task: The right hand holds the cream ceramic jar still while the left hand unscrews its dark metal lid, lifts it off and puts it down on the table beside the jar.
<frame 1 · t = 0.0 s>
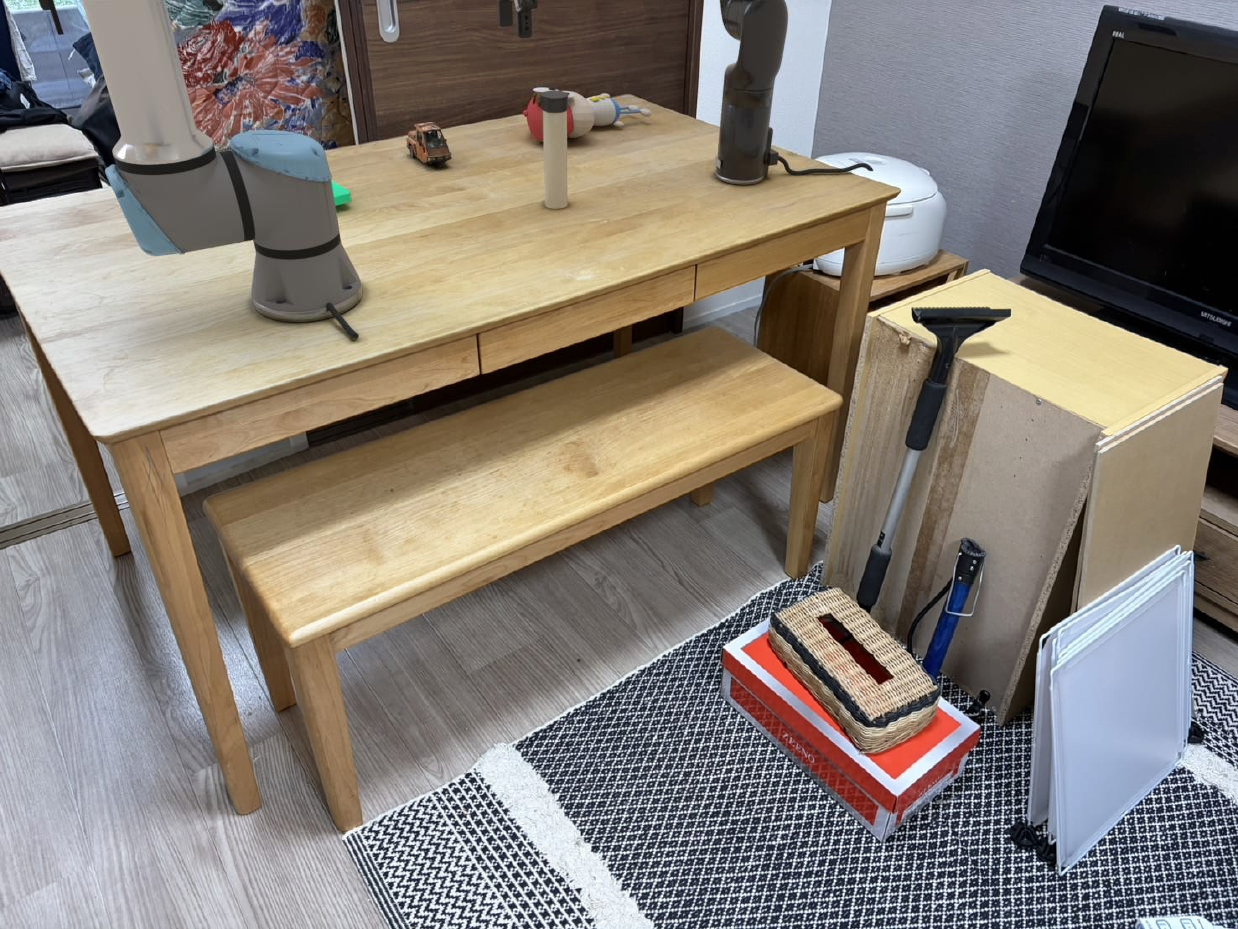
left hand: (108, 29, 146), 28 cm above the table, tool pointing down, fingers open, 13 cm apart
right hand: (515, 31, 146), 29 cm above the table, tool pointing down, fingers open, 8 cm apart
lid: (554, 96, 155), point 19 cm above the table, screwed on, not yet turned
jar: (556, 204, 166), on the table
camera mount: (318, 203, 164), on the table
toy: (586, 131, 200), on the table
toy car: (430, 160, 183), on the table
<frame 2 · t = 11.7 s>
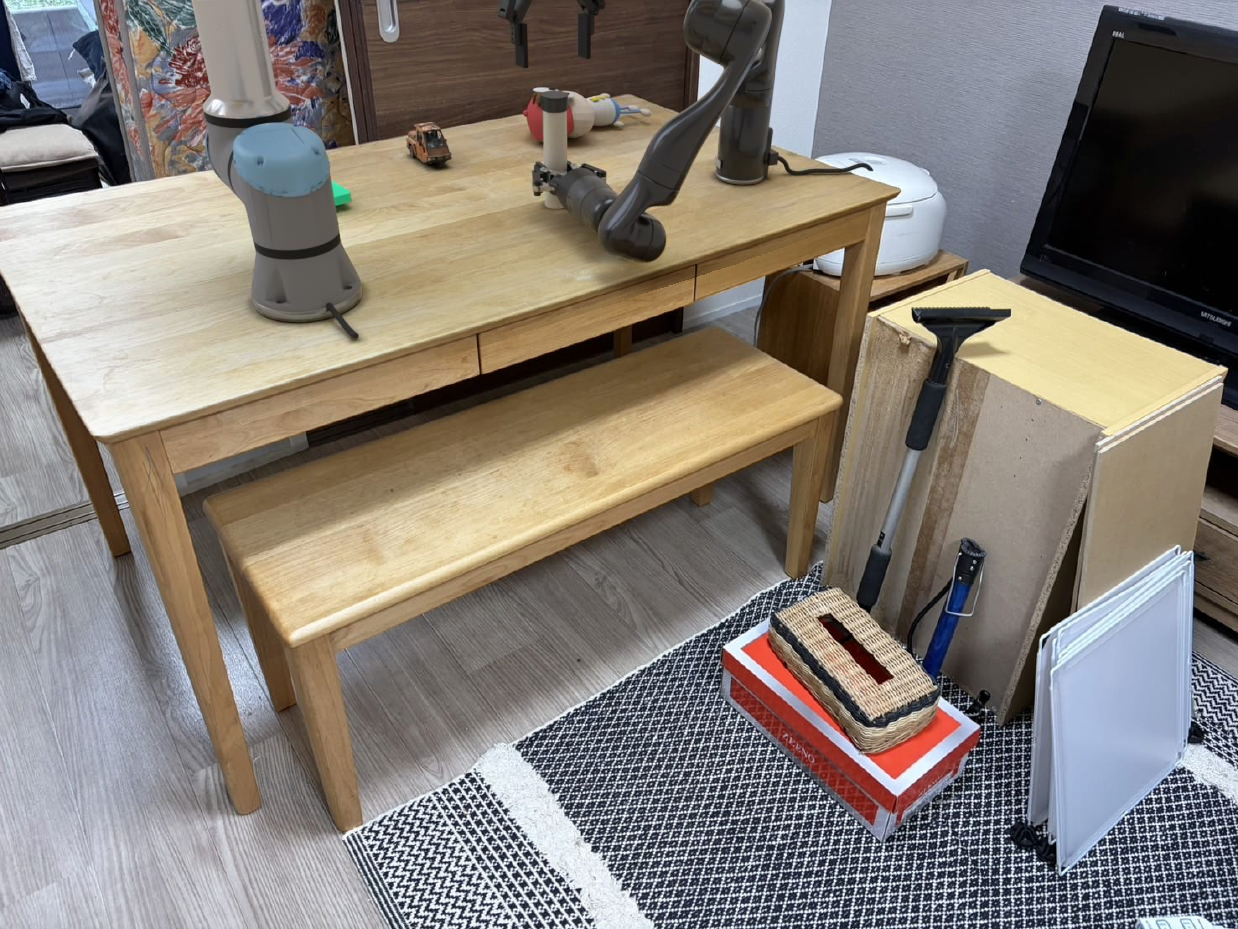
left hand: (553, 61, 152), 24 cm above the table, tool pointing down, fingers open, 11 cm apart
right hand: (549, 165, 165), 6 cm above the table, tool horizontal, fingers closed on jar, 4 cm apart
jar: (556, 204, 166), on the table, touching right hand
everything else where it was.
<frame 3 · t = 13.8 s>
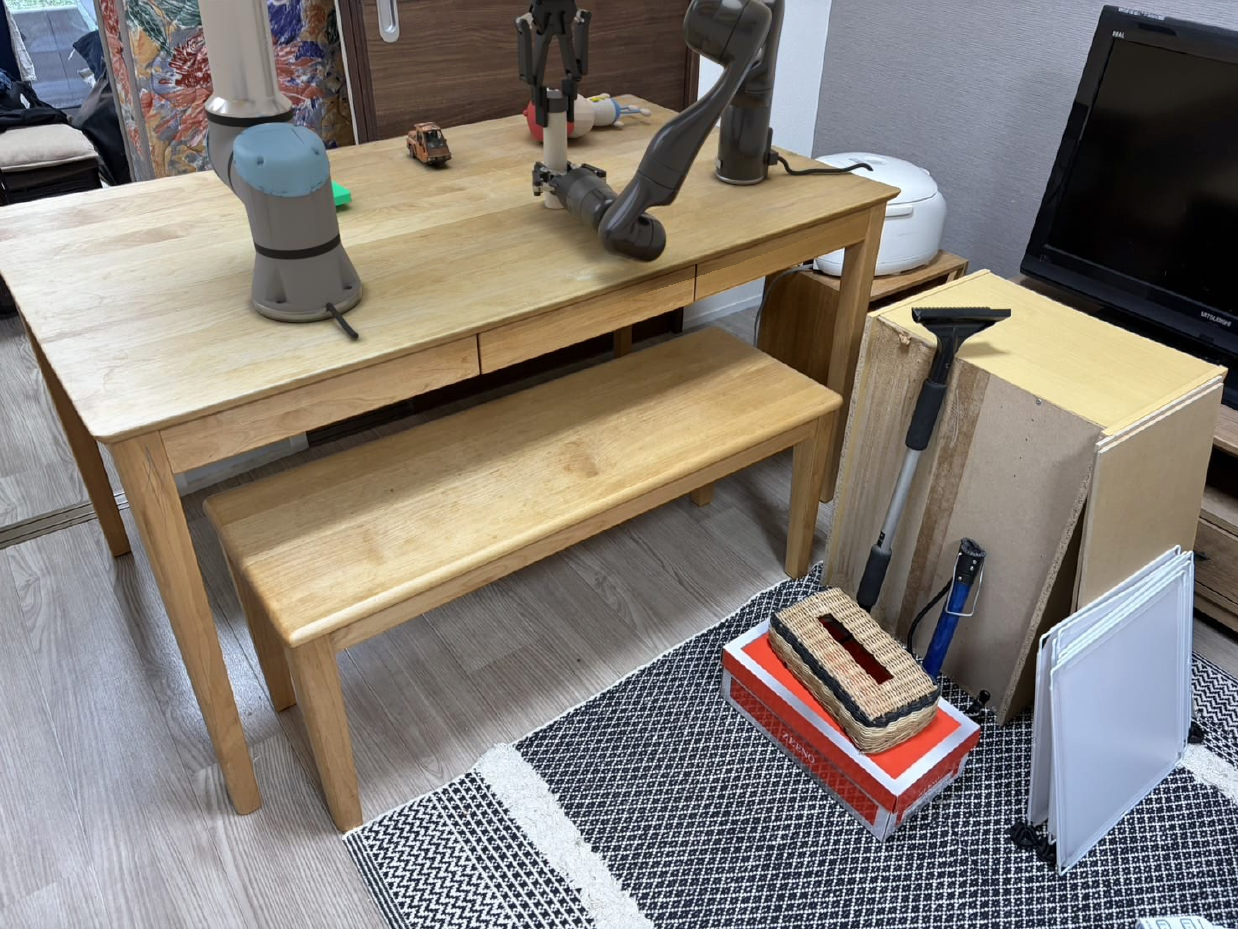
left hand: (554, 122, 158), 14 cm above the table, tool pointing down, fingers closed on lid, 5 cm apart
right hand: (549, 165, 165), 6 cm above the table, tool horizontal, fingers closed on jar, 4 cm apart
lid: (554, 96, 155), point 19 cm above the table, screwed on, not yet turned, touching left hand
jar: (556, 204, 166), on the table, touching right hand
everything else where it was.
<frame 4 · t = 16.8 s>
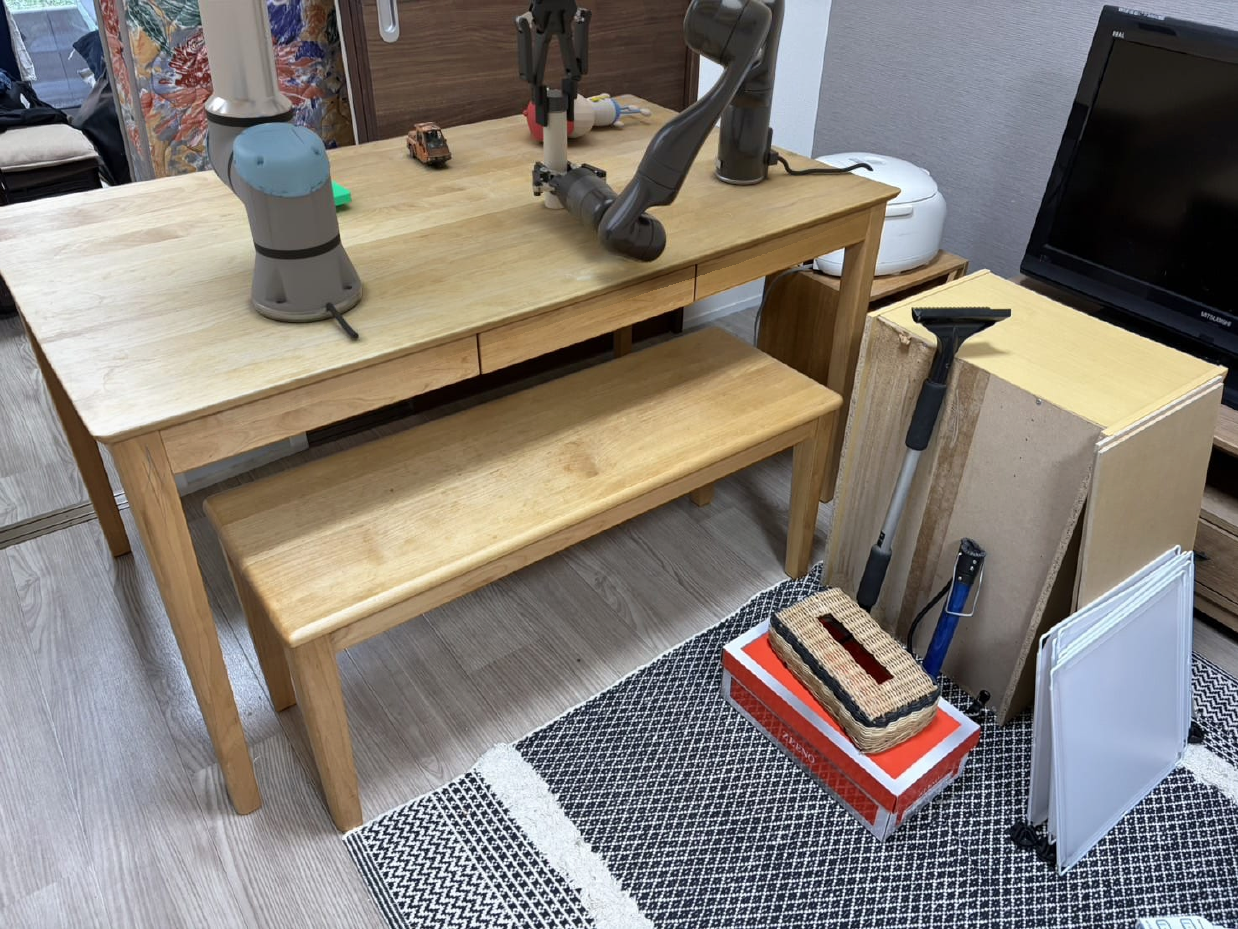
left hand: (554, 121, 158), 15 cm above the table, tool pointing down, fingers closed on lid, 5 cm apart
right hand: (549, 165, 165), 6 cm above the table, tool horizontal, fingers closed on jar, 4 cm apart
lid: (554, 95, 155), point 19 cm above the table, turned 95° so far, risen 0.2 cm, still on its thread, touching left hand
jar: (556, 204, 166), on the table, touching right hand
everything else where it was.
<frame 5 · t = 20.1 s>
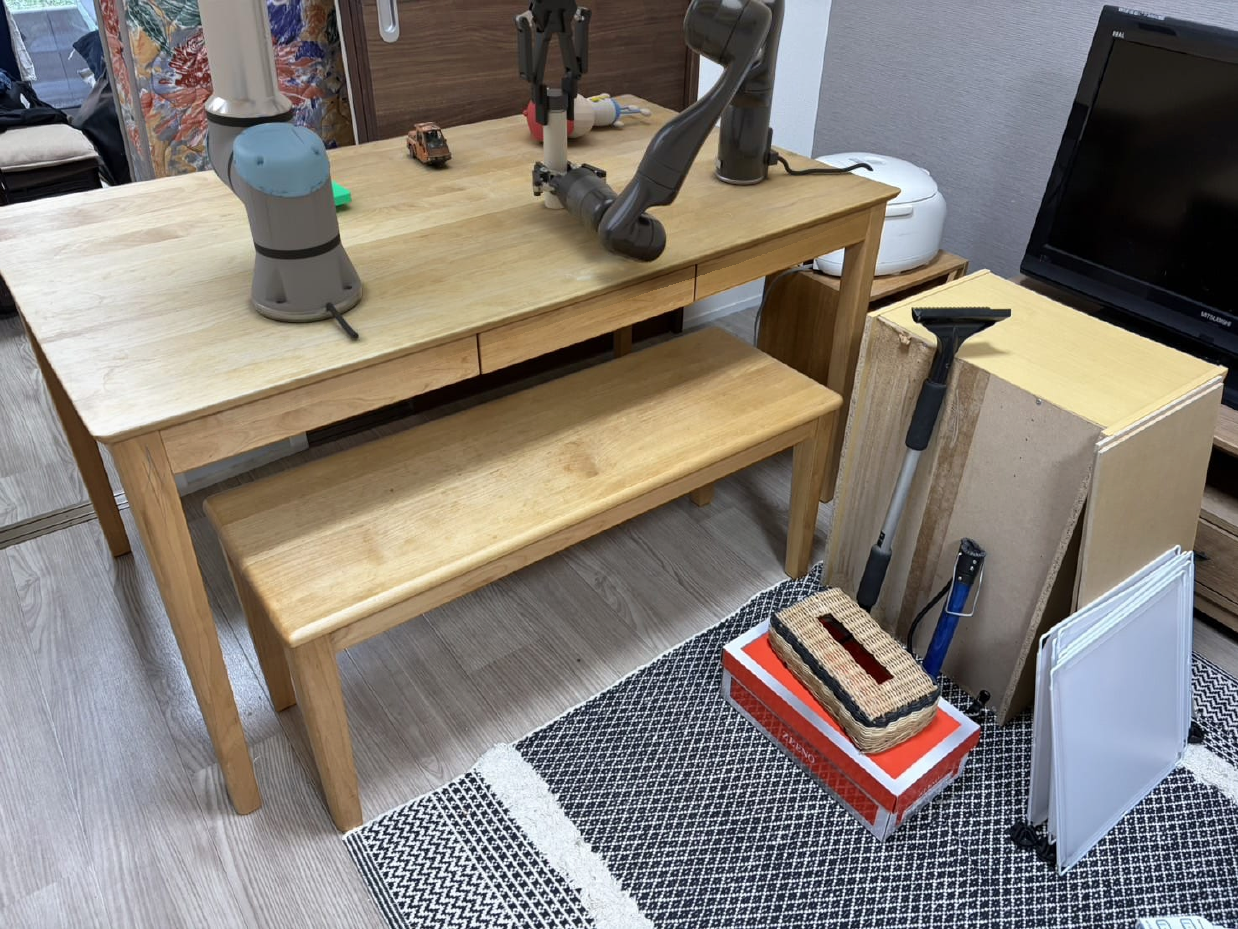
left hand: (554, 120, 157), 15 cm above the table, tool pointing down, fingers closed on lid, 5 cm apart
right hand: (549, 165, 165), 6 cm above the table, tool horizontal, fingers closed on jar, 4 cm apart
lid: (554, 94, 155), point 19 cm above the table, turned 191° so far, risen 0.3 cm, still on its thread, touching left hand
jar: (556, 204, 166), on the table, touching right hand
everything else where it was.
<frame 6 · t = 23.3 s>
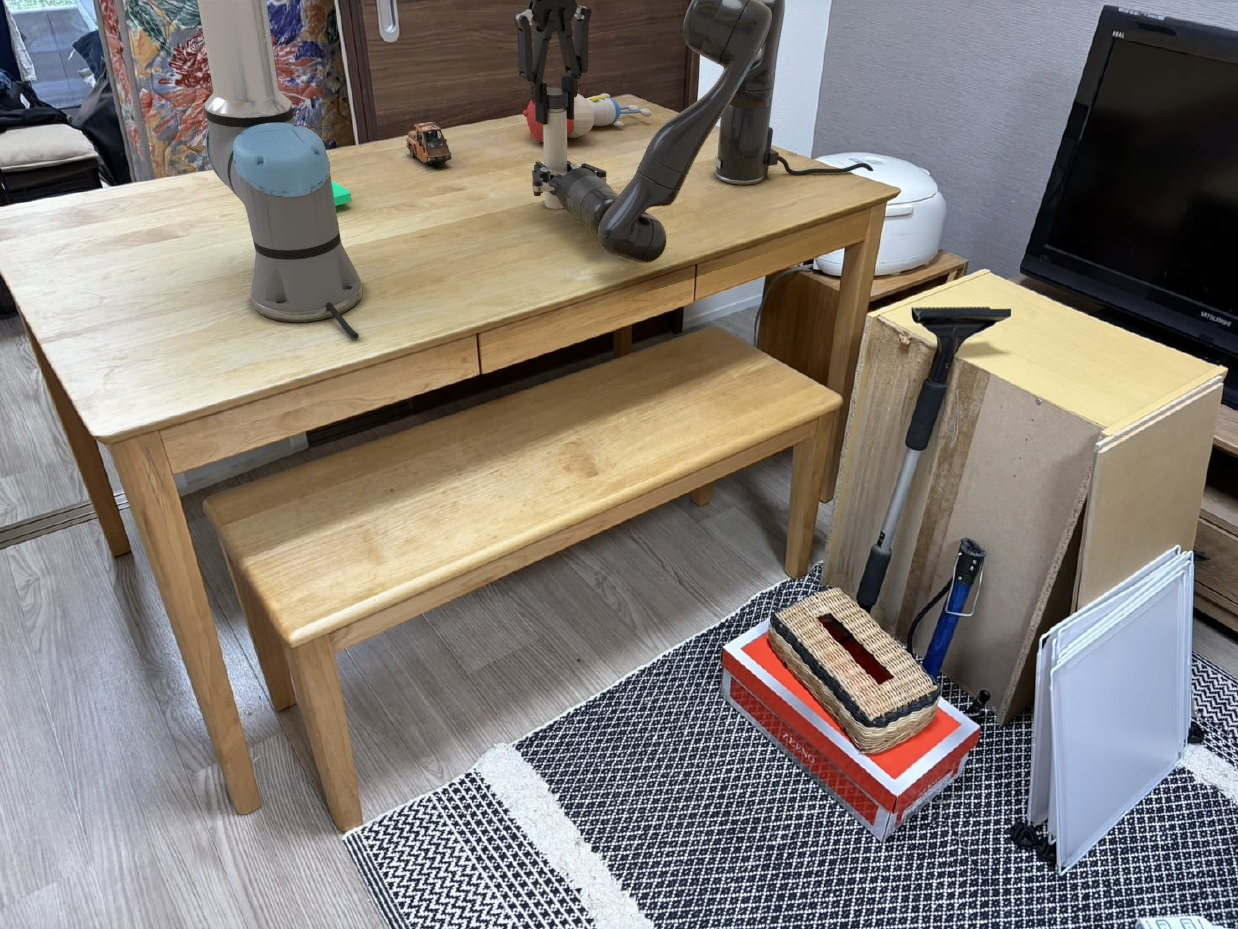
left hand: (554, 119, 157), 15 cm above the table, tool pointing down, fingers closed on lid, 5 cm apart
right hand: (549, 165, 165), 6 cm above the table, tool horizontal, fingers closed on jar, 4 cm apart
lid: (554, 93, 155), point 19 cm above the table, turned 286° so far, risen 0.5 cm, still on its thread, touching left hand
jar: (556, 204, 166), on the table, touching right hand
everything else where it was.
when the left hand's fingers open (0 cm above the table, at t = 29.2 s): lid drops 3 cm, point 2 cm above the table.
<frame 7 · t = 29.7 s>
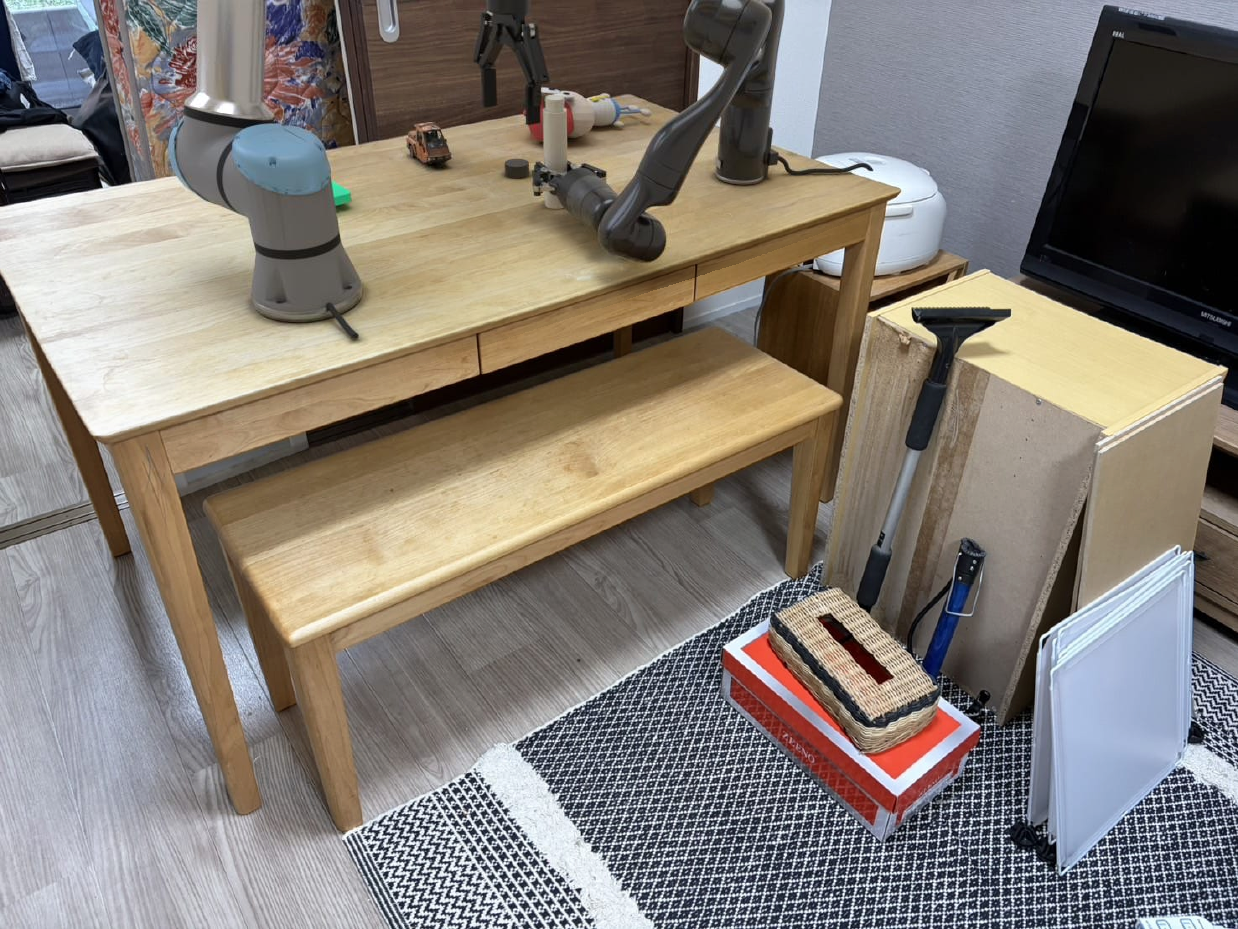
left hand: (511, 114, 171), 11 cm above the table, tool pointing down, fingers open, 13 cm apart
right hand: (549, 165, 165), 6 cm above the table, tool horizontal, fingers closed on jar, 4 cm apart
lid: (516, 164, 177), point 2 cm above the table, off its thread
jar: (556, 204, 166), on the table, touching right hand
everything else where it was.
when the right hand's fingers open (6 cm above the table, at t = 29.8 s): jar stays where it is, on the table.
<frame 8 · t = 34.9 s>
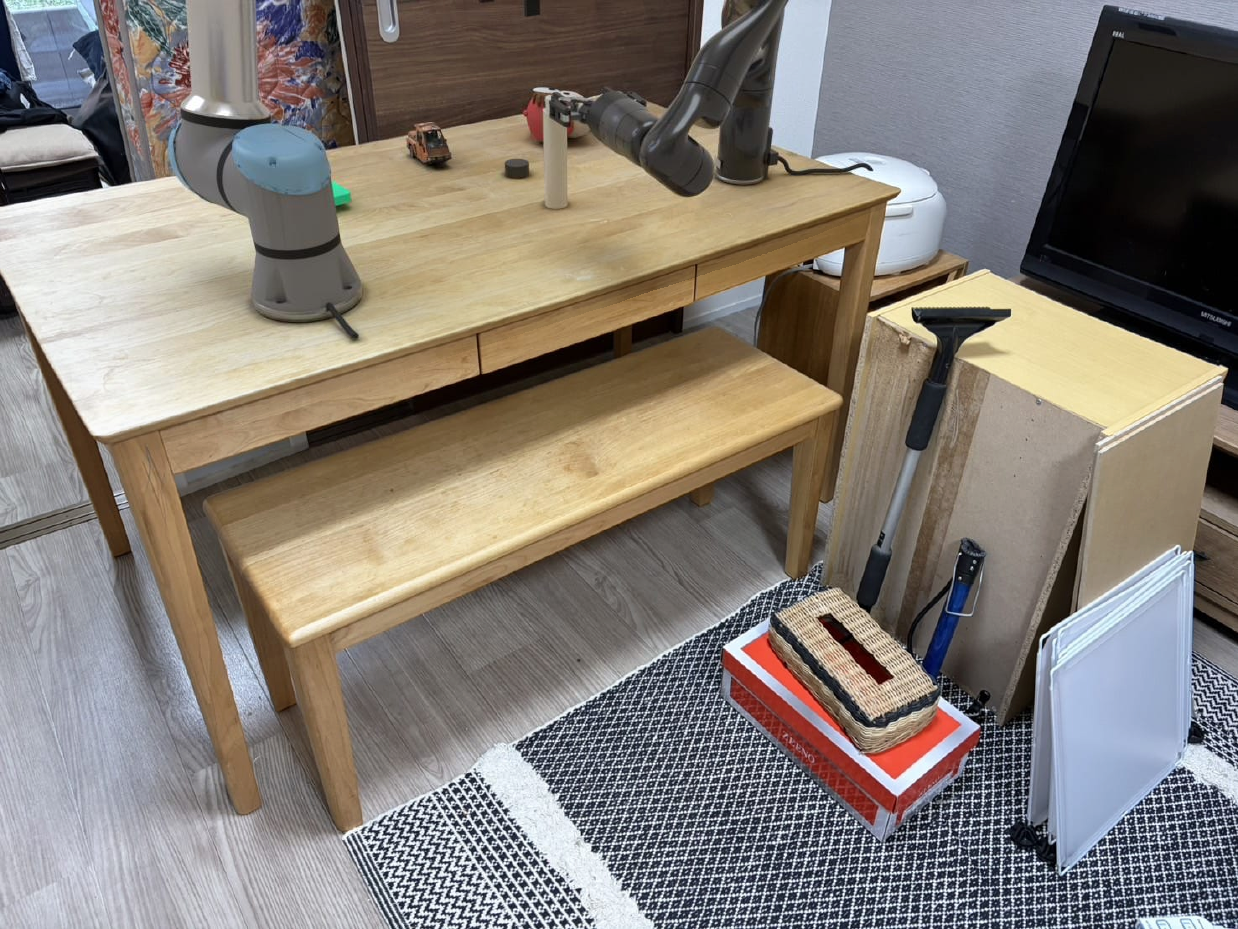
left hand: (508, 8, 160), 29 cm above the table, tool pointing down, fingers open, 13 cm apart
right hand: (579, 95, 146), 21 cm above the table, tool horizontal, fingers open, 8 cm apart
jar: (556, 204, 166), on the table
everything else where it was.
at the end: lid came off its thread; lid point 1.9 cm above the table; the left hand is holding nothing; the right hand is holding nothing; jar tilted 0°; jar moved 0.0 cm from its start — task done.
